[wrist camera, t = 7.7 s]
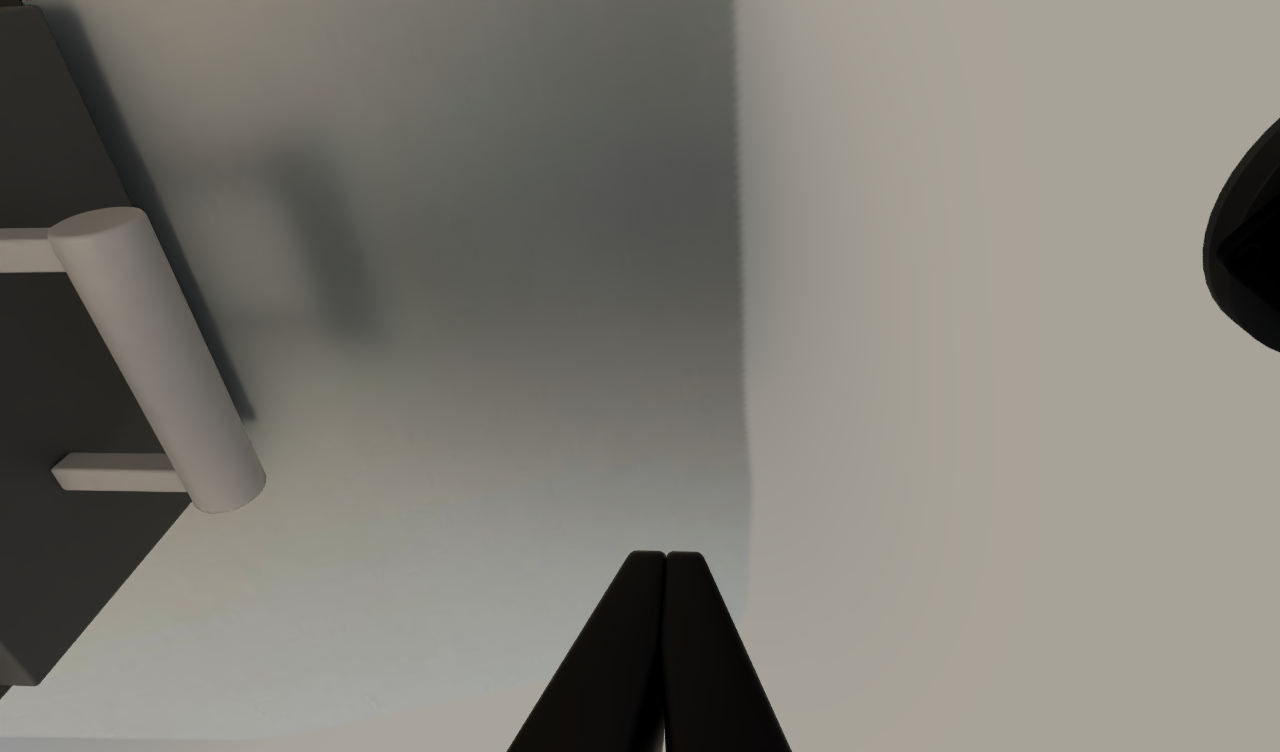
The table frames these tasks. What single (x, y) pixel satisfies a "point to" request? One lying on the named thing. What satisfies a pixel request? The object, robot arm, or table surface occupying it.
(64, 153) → the drawer
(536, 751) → the robot arm
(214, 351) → the table surface
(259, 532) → the table surface
